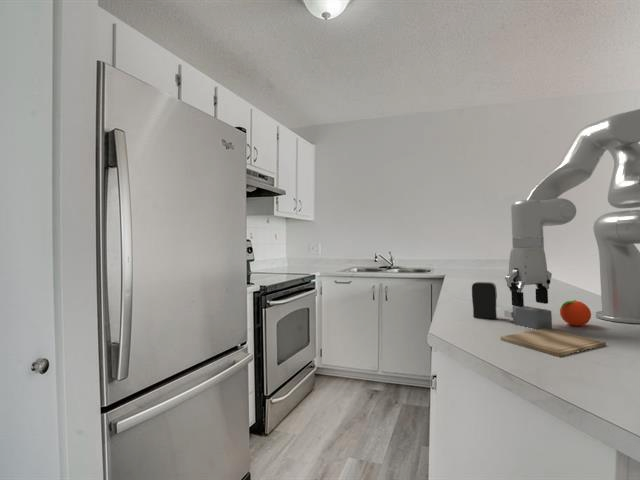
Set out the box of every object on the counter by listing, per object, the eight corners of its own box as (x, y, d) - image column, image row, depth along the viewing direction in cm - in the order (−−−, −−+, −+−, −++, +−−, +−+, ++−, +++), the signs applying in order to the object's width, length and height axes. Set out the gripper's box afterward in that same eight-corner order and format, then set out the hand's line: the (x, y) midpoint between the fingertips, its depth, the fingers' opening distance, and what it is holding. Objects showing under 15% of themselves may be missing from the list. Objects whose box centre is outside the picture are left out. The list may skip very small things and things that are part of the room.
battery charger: (498, 317, 105) (497, 281, 105) (496, 320, 102) (495, 283, 102) (475, 315, 109) (473, 280, 110) (472, 317, 106) (470, 282, 106)
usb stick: (556, 329, 89) (555, 311, 90) (544, 331, 88) (544, 312, 88) (513, 320, 101) (512, 303, 101) (502, 322, 100) (502, 305, 100)
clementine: (572, 329, 89) (570, 303, 89) (551, 323, 95) (549, 299, 95) (598, 327, 90) (597, 301, 90) (575, 321, 96) (574, 297, 96)
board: (544, 331, 88) (544, 327, 88) (606, 345, 75) (605, 341, 75) (500, 339, 82) (500, 336, 82) (558, 356, 69) (558, 352, 69)
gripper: (536, 243, 100) (538, 299, 100) (493, 245, 94) (496, 305, 94) (561, 243, 93) (564, 303, 93) (518, 244, 87) (520, 309, 87)
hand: (530, 304), depth 94 cm, fingers open, 9 cm apart
